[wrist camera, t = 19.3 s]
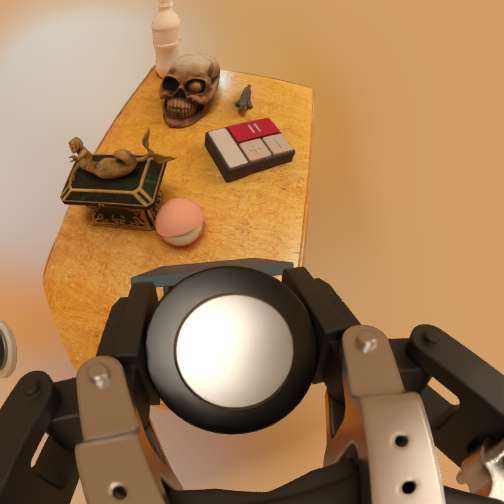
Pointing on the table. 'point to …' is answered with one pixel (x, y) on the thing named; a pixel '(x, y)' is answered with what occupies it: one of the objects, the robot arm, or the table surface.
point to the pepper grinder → (231, 350)
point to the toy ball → (180, 222)
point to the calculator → (247, 148)
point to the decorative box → (117, 185)
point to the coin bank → (189, 88)
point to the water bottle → (165, 36)
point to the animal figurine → (244, 99)
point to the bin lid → (178, 272)
